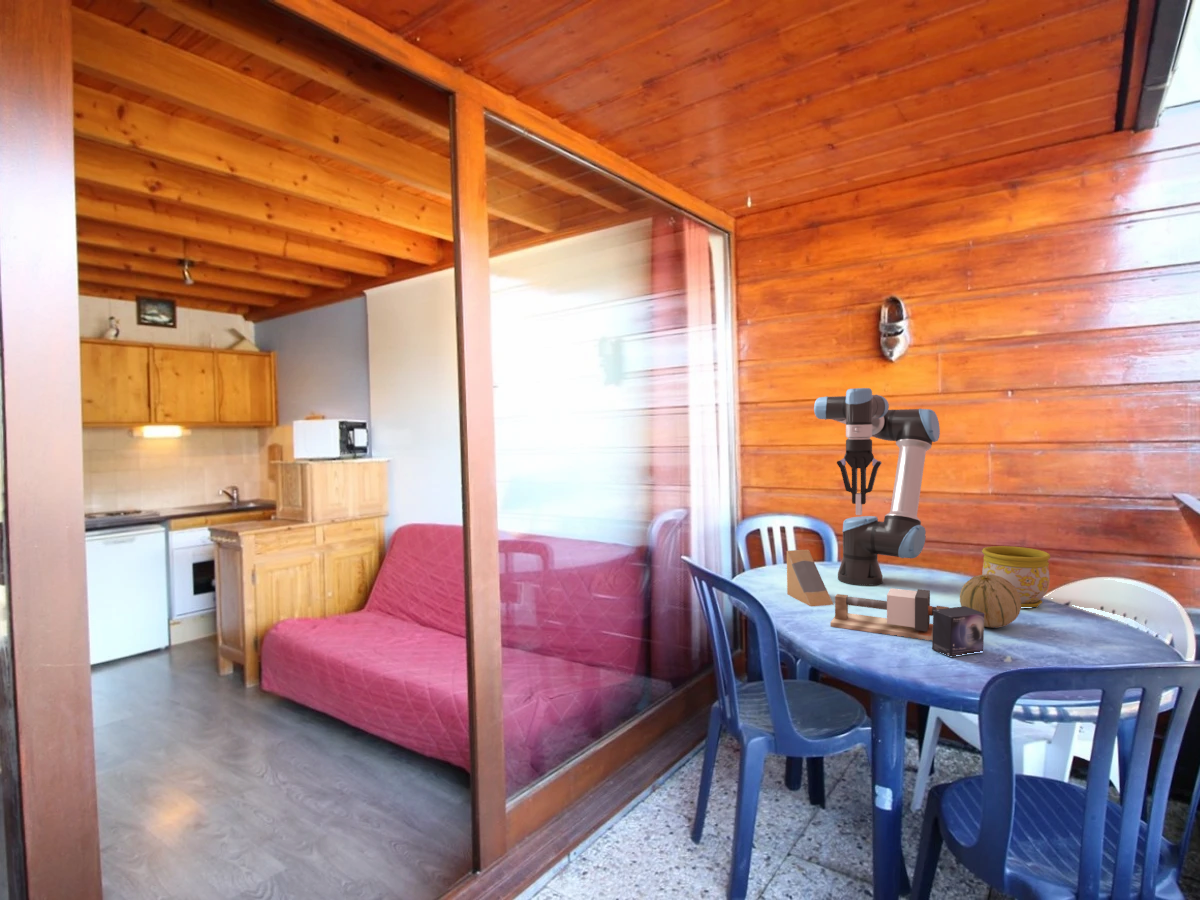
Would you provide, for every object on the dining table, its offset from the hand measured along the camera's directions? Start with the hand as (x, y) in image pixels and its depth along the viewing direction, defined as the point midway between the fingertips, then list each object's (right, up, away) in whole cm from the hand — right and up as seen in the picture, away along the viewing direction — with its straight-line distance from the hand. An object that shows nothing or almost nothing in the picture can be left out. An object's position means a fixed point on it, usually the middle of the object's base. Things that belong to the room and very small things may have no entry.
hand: (858, 514), depth 200 cm
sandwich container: (-11, -29, +12) cm, 34 cm away
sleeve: (+4, -28, -20) cm, 35 cm away
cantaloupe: (+30, -30, -18) cm, 46 cm away
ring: (+8, -28, -23) cm, 37 cm away
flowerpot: (+50, -29, +3) cm, 58 cm away
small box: (+10, -31, -37) cm, 49 cm away
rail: (+1, -30, -19) cm, 36 cm away
